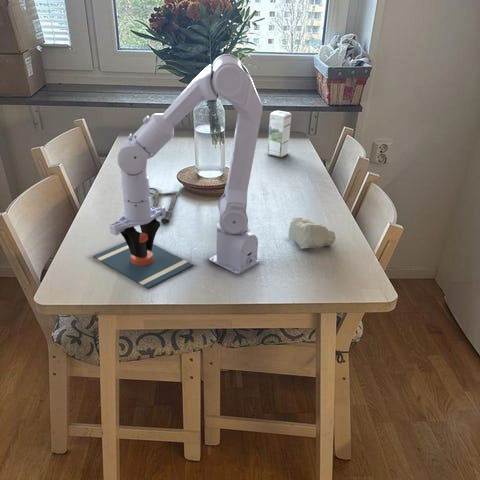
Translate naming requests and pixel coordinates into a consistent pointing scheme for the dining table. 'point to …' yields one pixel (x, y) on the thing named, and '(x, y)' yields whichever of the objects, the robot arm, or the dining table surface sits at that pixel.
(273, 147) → the syrup box
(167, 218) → the hacksaw
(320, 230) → the decorative stone
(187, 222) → the dining table surface
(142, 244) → the orange thread spool
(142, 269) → the tea towel
